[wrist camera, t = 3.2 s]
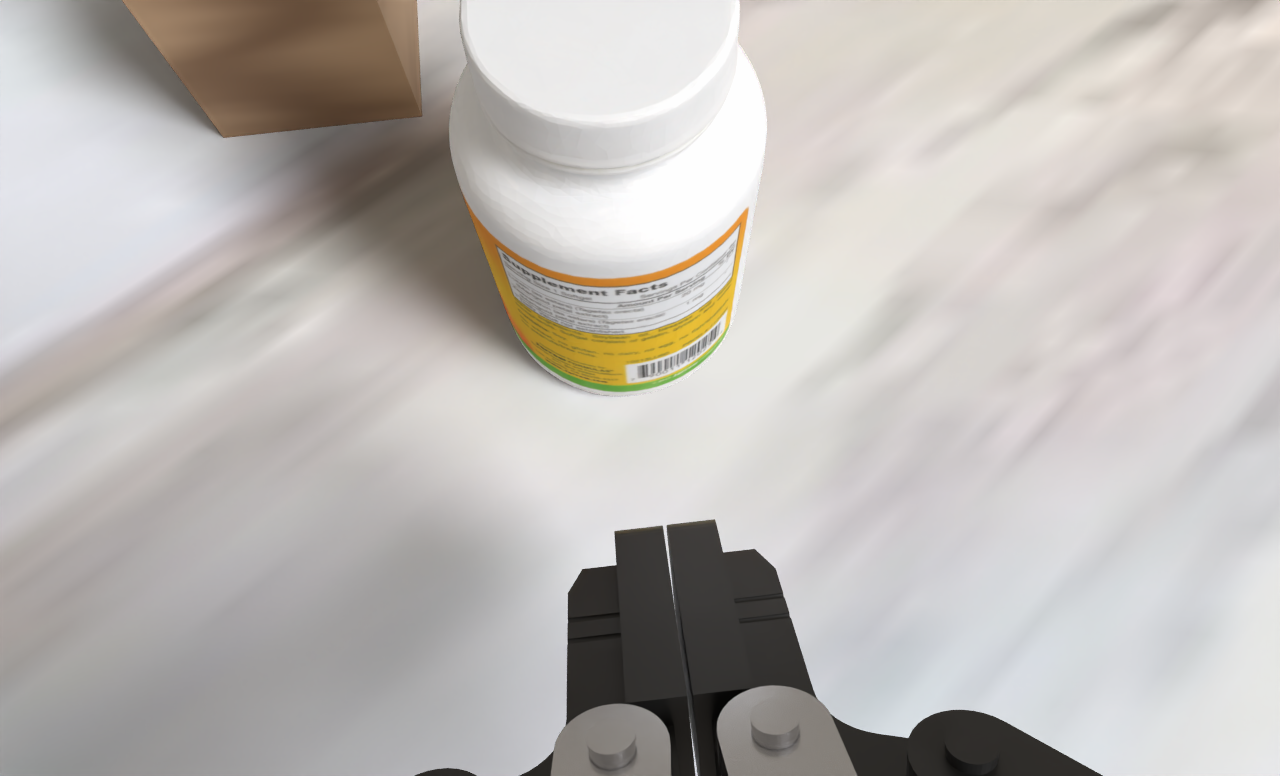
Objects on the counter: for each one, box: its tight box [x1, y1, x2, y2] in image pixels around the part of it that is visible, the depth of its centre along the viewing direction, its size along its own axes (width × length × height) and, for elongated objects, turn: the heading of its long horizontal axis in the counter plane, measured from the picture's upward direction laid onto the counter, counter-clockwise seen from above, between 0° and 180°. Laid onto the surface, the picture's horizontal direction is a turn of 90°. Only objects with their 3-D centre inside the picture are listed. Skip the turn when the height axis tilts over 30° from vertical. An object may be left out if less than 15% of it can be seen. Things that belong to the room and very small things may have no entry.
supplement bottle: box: [449, 0, 767, 396], centre depth 18 cm, size 5×5×10 cm
